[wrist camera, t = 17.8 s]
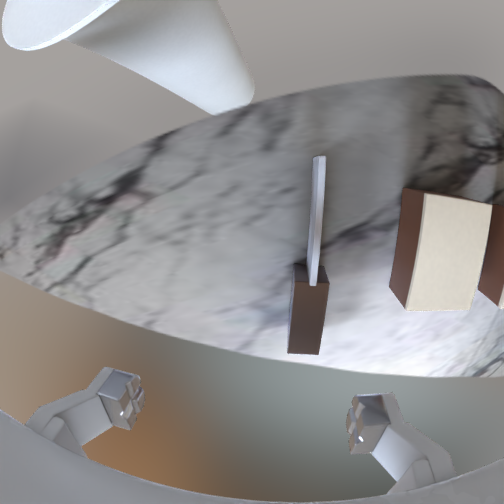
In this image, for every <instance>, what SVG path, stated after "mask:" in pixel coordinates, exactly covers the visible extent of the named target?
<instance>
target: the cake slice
mask: <svg viewBox="0 0 504 504" xmlns="http://www.w3.org/2000/svg"><path fill="white" fill-rule="evenodd" d="M478 290H479V291H480V292H482V293H483V294H484V295H485V296H486V297H488V298H489V299H490V300H491V301H492V302H494V303H495V304H496V305H497V306H498V307H499V308H500V309H504V206H503V205H497V204H493V206H492V215H491V223H490V231H489V237H488V243H487V249H486V254H485V260H484V264H483V269H482V274H481V278H480V282H479V286H478Z"/></svg>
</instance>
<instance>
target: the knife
mask: <svg viewBox="0 0 504 504" xmlns="http://www.w3.org/2000/svg"><path fill="white" fill-rule="evenodd" d="M325 172H326V156H321V155H319V156H316V157H313V170H312V191H311V208H310V223H309V237H308V250H307V261H306V265H300V264H294V266H293V278H292V290H291V302H290V313H289V323H288V345H287V353H288V354H307V355H318V354H319V349H320V343H321V338H322V332H323V326H324V319H325V313H326V306H327V299H328V292H329V284H330V283H329V280H328V277H327V274H326V271H325V268H324V266H318V265H319V255H320V244H321V232H322V220H323V206H324V190H325Z"/></svg>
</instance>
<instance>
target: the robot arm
mask: <svg viewBox="0 0 504 504" xmlns="http://www.w3.org/2000/svg"><path fill="white" fill-rule="evenodd" d="M140 383H141V380H140V377H139V376H138V375H135V374H131V373H128V372H123V371H120V370H117V369H112V368H109V367H104V368H103V369H102V370H101V371H100V372H99V374H98V375H97V376H96V377H95V379H94V380H93V381H92V382H91V384H90V385H89V386H88V388H87V389H86V390H80V391H78V392H75V393H73V394H71V395H68V396H66V397H63V398H61V399H58V400H56V401H53V402H51V403H48V404H45V405H43V406H40V407H39V408H38V409H37V410H36V411H35V413H34V414H33V415H32V416H31V417H30V419H29V420H28V421H27V422H26V424H25V425H23V424H22V423H20V422H19V421H17V420H16V419H14V418H13V417H11V416H10V415H8V414H7V413H5V412H4V411H2V410H1V409H0V504H504V457H503V458H501V459H499V460H497V461H495V462H493V463H490V464H488V465H486V466H483V467H481V468H478V469H476V470H473V471H471V472H468V473H465V474H462V475H460V476H457V473H456V471H455V468H454V465H453V463H452V460H451V457H450V454H449V452H448V451H447V450H445V449H444V448H442V447H441V446H439V445H438V444H437V443H435V442H434V441H433V440H431V439H430V438H428V437H427V436H426V435H424V434H423V433H422V432H420V431H419V430H418V429H416V428H415V427H414V426H412V425H411V424H410V423H408V422H406V423H405V422H404V420H403V417H402V414H401V411H400V408H399V406H398V403H397V400H396V398H395V395H394V393H392V392H391V393H380V394H365V395H355V396H354V397H353V400H352V406H353V407H352V408H351V409H349V412H348V414H347V420H346V427H347V432H348V433H349V434H350V435H351V436H350V439H349V447H350V454H364V453H372V455H373V456H374V457H375V458H376V459H377V460H378V462H380V464H381V465H382V466H383V467H384V468H385V469H386V470H387V471H388V472H389V473H390V475H391V476H392V477H393V478H394V479H395V480H396V481H397V483H396V484H395V485H394V486H393V487H392V488H391V489H390V491H389V492H388V493H387V495H381V496H374V497H368V498H360V499H351V500H341V501H325V502H271V501H256V500H245V499H235V498H228V497H221V496H214V495H208V494H202V493H197V492H193V491H188V490H183V489H179V488H175V487H171V486H167V485H163V484H159V483H155V482H152V481H148V480H145V479H142V478H139V477H135V476H132V475H129V474H127V473H124V472H121V471H118V470H115V469H113V468H110V467H107V466H105V465H102V464H100V463H97V462H95V461H93V460H90V459H88V458H87V455H86V453H85V452H84V450H83V449H82V447H81V446H82V445H83V444H85V443H87V442H88V441H90V440H92V439H93V438H95V437H96V436H98V435H100V434H101V433H102V432H104V431H106V430H107V429H109V428H110V427H112V425H114V426H118V427H121V428H124V429H128V430H131V429H132V427H133V425H134V423H135V422H136V420H137V417H136V414H137V413H139V412H140V411H141V410H142V408H143V406H144V401H145V394H144V390H143V389H142V388H141V387H140V386H139V385H140Z"/></svg>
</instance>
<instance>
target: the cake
mask: <svg viewBox="0 0 504 504" xmlns="http://www.w3.org/2000/svg"><path fill="white" fill-rule="evenodd" d="M491 212H492V205H491V204H487V203H484V202H480V201H476V200H473V199H469V198H465V197H461V196H455V195H449V194H443V193H437V192H431V191H424V190H418V189H410V188H403V191H402V203H401V212H400V221H399V229H398V237H397V244H396V250H395V257H394V263H393V269H392V274H391V279H390V285H389V288H390V289H391V290H392V292H393V293H394V294H395V296H396V297H397V298H398V300H399V301H400V303H401V304H402V305H403V307H404V308H405V310H406V311H454V310H470V308H471V305H472V302H473V298H474V295H475V291H476V288H477V284H478V280H479V276H480V272H481V268H482V263H483V259H484V254H485V249H486V244H487V238H488V233H489V226H490V219H491Z"/></svg>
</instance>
